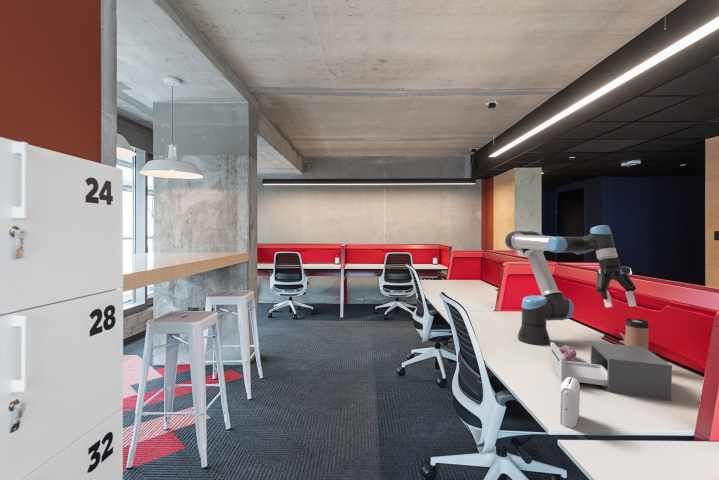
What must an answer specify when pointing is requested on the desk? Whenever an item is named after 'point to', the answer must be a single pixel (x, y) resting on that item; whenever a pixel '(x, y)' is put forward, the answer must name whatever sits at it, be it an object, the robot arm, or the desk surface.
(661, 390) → the box
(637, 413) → the desk surface
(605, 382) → the light grey drawer
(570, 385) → the photo printer
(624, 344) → the lily
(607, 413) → the desk surface
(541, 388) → the desk surface
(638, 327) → the travel mug
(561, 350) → the video game controller
